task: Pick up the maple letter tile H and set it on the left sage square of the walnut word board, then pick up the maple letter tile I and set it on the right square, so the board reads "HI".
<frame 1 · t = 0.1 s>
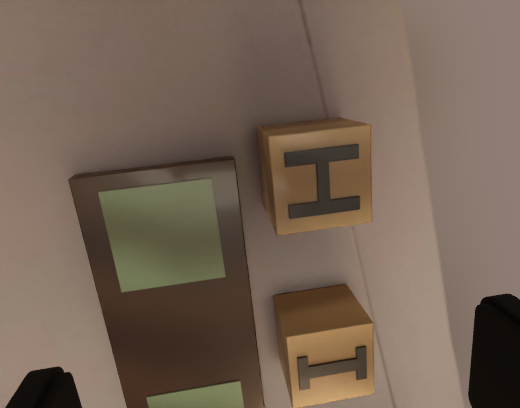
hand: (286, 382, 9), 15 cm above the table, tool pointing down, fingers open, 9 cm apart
word board: (185, 329, 25), on the table
tile I: (312, 321, 26), on the table
tile H: (301, 164, 23), on the table
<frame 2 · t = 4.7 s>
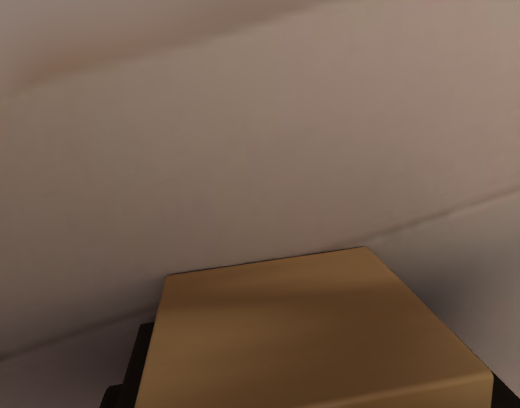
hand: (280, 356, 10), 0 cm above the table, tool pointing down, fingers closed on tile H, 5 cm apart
tile H: (277, 345, 10), on the table, touching gripper
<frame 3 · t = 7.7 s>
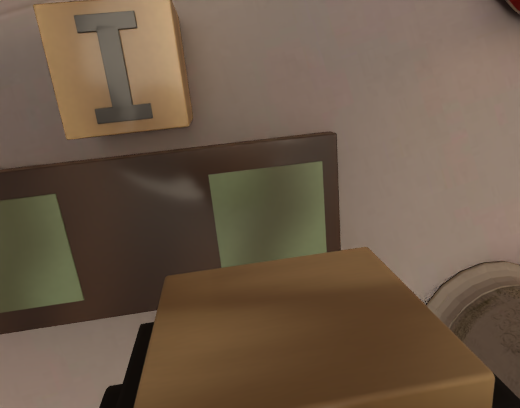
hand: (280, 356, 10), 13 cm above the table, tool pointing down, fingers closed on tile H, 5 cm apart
word board: (147, 232, 22), on the table
tile I: (136, 73, 19), on the table
mug: (485, 348, 28), on the table
tile H: (277, 345, 10), point 13 cm above the table, touching gripper
when the fingers open (1 cm above the table, at t = 10.8 s): tile H stays where it is, resting on word board.
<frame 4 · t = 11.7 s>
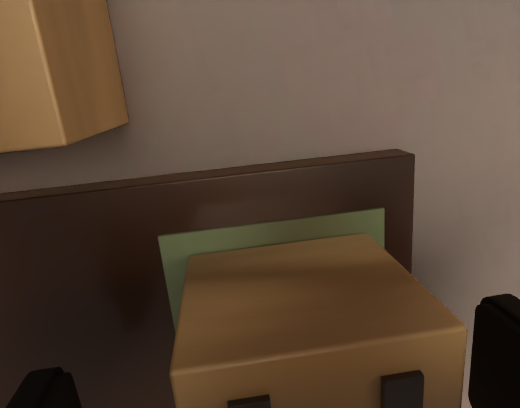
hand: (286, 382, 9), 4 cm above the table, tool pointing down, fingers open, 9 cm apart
word board: (51, 333, 12), on the table
tile I: (5, 28, 9), on the table
tile H: (285, 321, 11), point 1 cm above the table, touching word board
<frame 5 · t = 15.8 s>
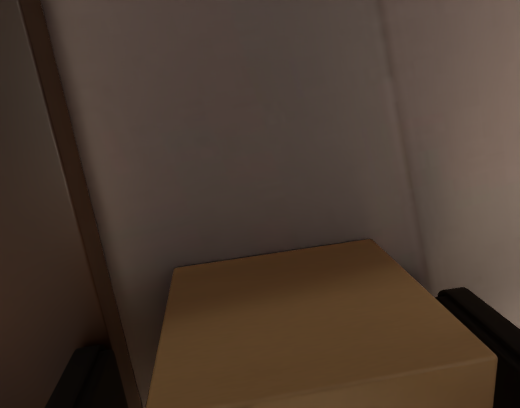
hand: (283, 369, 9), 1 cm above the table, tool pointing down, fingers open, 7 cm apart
tile I: (283, 337, 10), on the table
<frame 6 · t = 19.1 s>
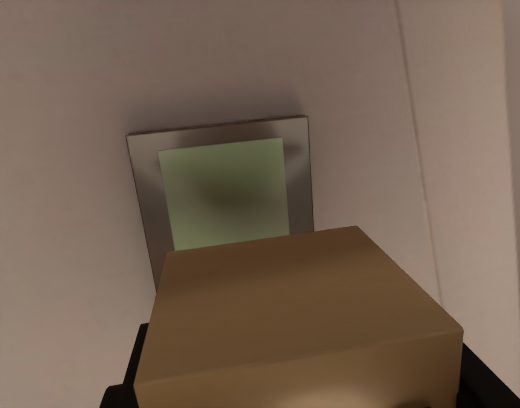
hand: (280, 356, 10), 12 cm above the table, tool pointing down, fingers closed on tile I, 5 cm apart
word board: (241, 308, 23), on the table
tile I: (272, 319, 11), point 11 cm above the table, touching gripper
when the fingers open (2 cm above the table, at t = 21.7 s): tile I stays where it is, resting on word board.
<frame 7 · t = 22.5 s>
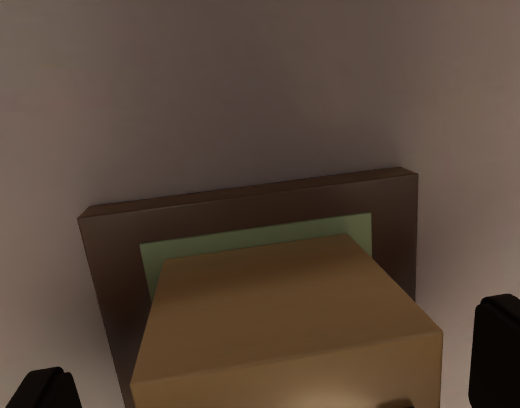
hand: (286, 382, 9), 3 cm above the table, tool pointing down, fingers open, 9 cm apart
tile I: (266, 325, 11), point 1 cm above the table, touching word board
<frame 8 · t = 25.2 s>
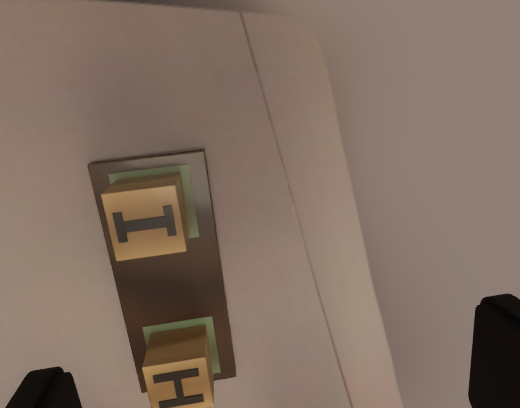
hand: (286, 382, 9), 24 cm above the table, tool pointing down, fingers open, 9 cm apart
word board: (171, 277, 34), on the table
tile I: (154, 205, 31), point 1 cm above the table, touching word board
tile H: (182, 351, 35), point 1 cm above the table, touching word board
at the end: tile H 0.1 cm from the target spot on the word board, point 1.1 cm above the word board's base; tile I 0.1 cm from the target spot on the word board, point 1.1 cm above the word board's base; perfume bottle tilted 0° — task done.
